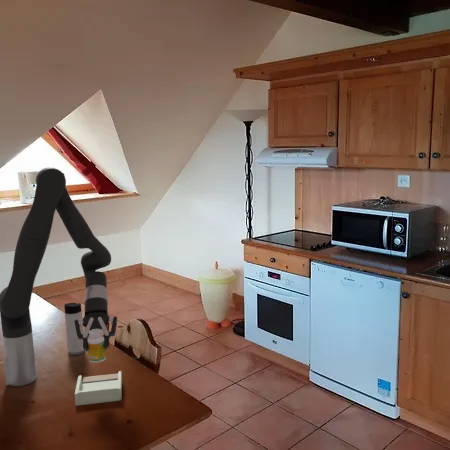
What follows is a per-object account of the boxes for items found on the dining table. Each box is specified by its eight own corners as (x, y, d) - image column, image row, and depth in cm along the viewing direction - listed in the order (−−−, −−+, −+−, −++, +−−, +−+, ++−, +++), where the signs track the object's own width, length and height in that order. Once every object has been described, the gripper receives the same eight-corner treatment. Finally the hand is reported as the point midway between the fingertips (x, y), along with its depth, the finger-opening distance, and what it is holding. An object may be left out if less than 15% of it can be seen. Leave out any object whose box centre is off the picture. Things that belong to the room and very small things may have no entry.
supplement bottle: (101, 363, 153) (99, 334, 151) (85, 362, 154) (83, 333, 152) (108, 356, 158) (106, 328, 156) (93, 355, 159) (91, 327, 157)
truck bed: (75, 405, 150) (74, 393, 149) (80, 379, 167) (80, 368, 166) (121, 400, 153) (120, 388, 152) (122, 375, 169) (121, 364, 168)
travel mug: (64, 354, 187) (59, 305, 183) (75, 347, 193) (71, 299, 189) (77, 356, 184) (73, 306, 181) (88, 349, 190) (84, 301, 187)
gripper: (72, 298, 158) (71, 347, 149) (117, 294, 161) (118, 342, 152) (75, 308, 164) (74, 356, 155) (118, 304, 167) (120, 351, 158)
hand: (96, 349), depth 153 cm, fingers closed on supplement bottle, 5 cm apart
